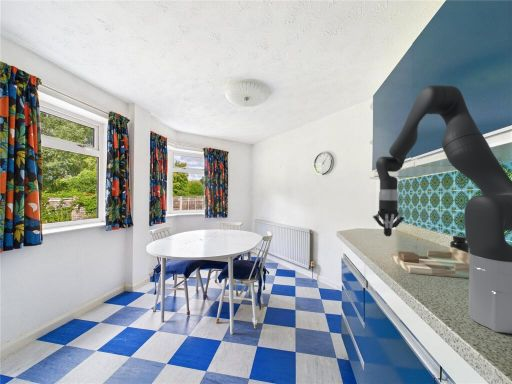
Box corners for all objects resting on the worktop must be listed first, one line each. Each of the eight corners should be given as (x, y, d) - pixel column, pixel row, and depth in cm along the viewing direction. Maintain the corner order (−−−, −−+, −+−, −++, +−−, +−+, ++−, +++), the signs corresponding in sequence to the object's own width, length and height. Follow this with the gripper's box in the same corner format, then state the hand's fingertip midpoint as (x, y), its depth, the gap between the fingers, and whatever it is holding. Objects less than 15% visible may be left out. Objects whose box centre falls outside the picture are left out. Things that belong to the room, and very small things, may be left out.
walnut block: (418, 263, 94) (419, 255, 94) (403, 262, 95) (403, 254, 95) (412, 258, 99) (412, 251, 99) (397, 257, 101) (398, 250, 101)
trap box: (488, 280, 82) (488, 260, 82) (409, 273, 88) (410, 255, 88) (453, 263, 102) (453, 247, 102) (390, 258, 108) (391, 243, 108)
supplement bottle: (473, 262, 103) (473, 238, 103) (458, 262, 103) (459, 237, 103) (459, 258, 110) (460, 235, 110) (446, 258, 110) (446, 234, 110)
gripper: (375, 199, 97) (374, 237, 97) (408, 199, 94) (407, 238, 94) (370, 198, 104) (369, 233, 104) (400, 199, 101) (399, 235, 101)
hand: (387, 236), depth 99 cm, fingers closed
